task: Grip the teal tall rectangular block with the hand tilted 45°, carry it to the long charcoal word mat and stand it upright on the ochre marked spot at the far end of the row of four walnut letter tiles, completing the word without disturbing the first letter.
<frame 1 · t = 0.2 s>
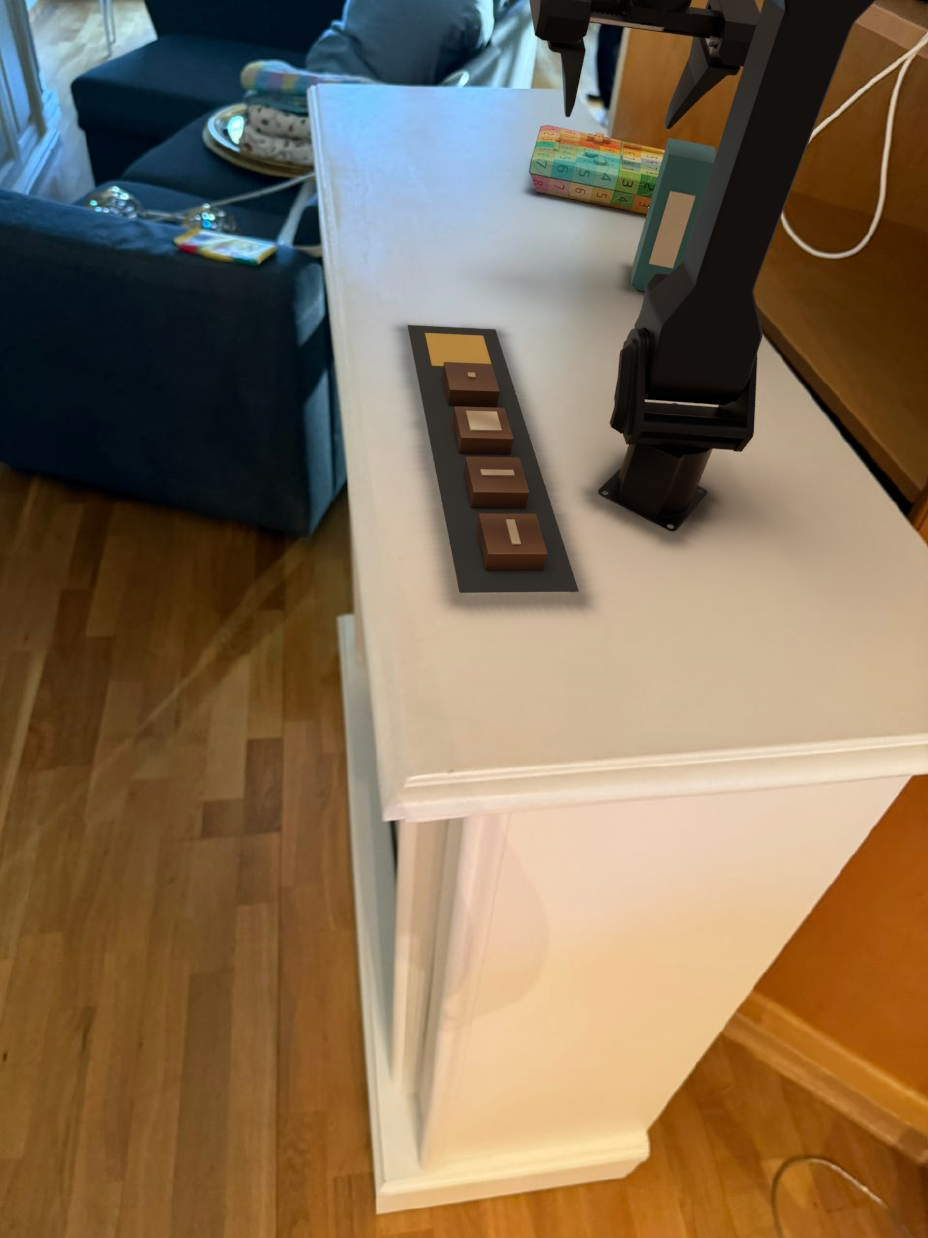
hand: (617, 120, 79), 15 cm above the table, tool pointing down, fingers open, 9 cm apart
tile b: (493, 490, 65), point 1 cm above the table, touching word mat
word mat: (479, 444, 70), on the table
teal tall rectangular block: (652, 283, 93), on the table
tile a: (509, 549, 61), point 1 cm above the table, touching word mat
tile c: (480, 438, 69), point 1 cm above the table, touching word mat
puzzle game: (611, 193, 108), on the table
tile d: (468, 392, 73), point 1 cm above the table, touching word mat
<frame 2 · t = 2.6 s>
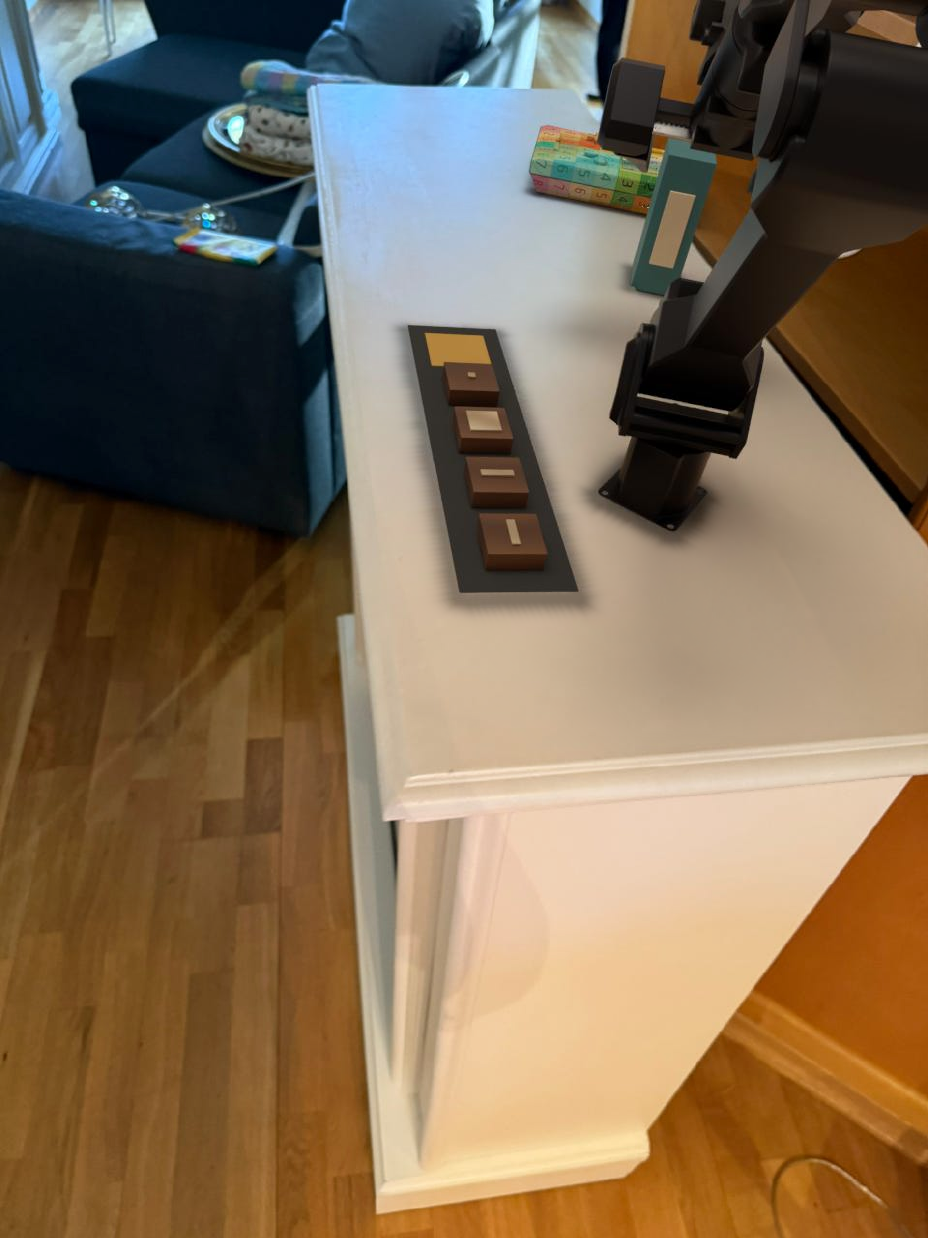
hand: (697, 177, 77), 13 cm above the table, tool tilted 45°, fingers open, 9 cm apart
nothing on the table moved.
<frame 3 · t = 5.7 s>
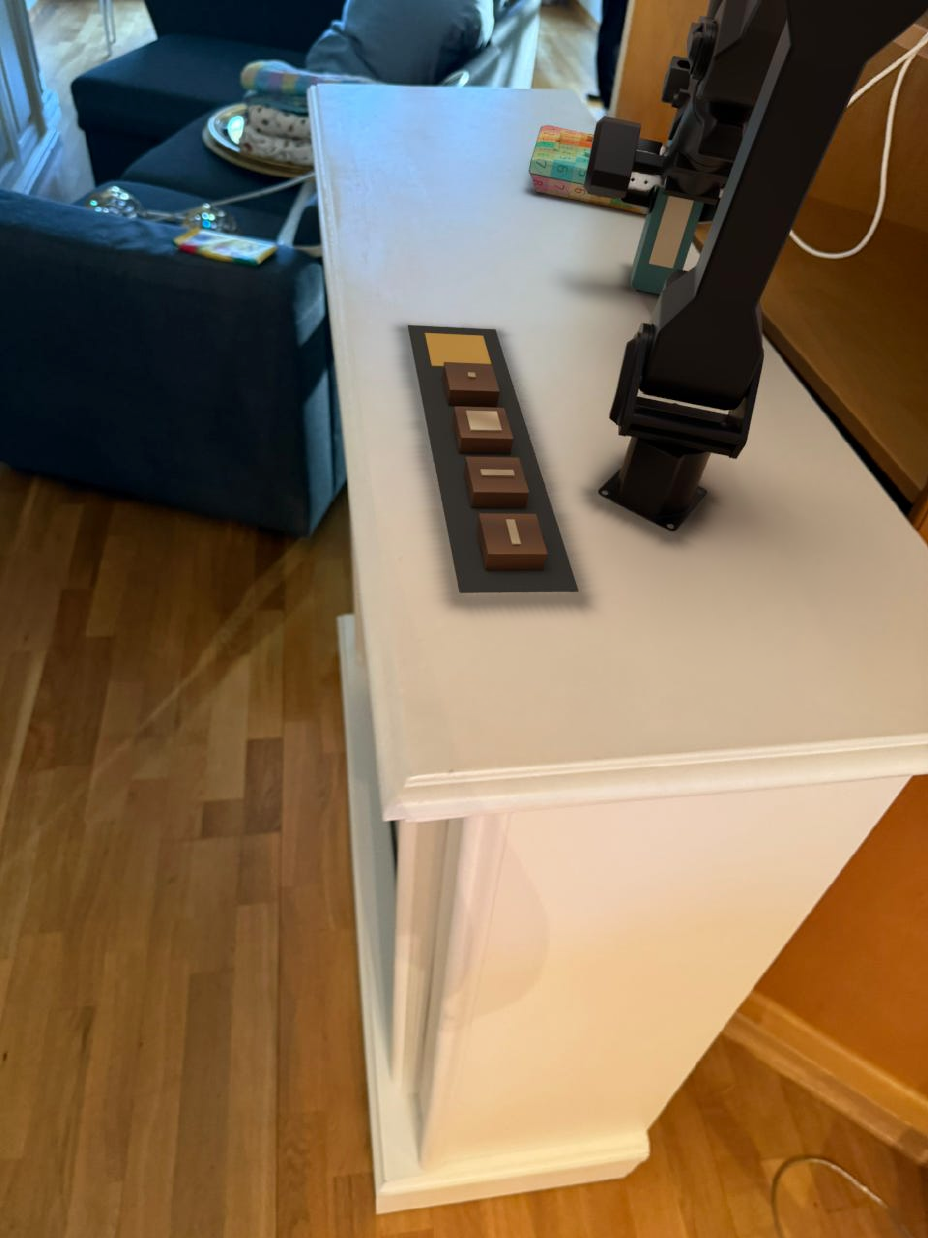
hand: (671, 213, 89), 7 cm above the table, tool tilted 45°, fingers closed on teal tall rectangular block, 4 cm apart
teal tall rectangular block: (652, 283, 93), on the table, touching gripper
everything else where it was.
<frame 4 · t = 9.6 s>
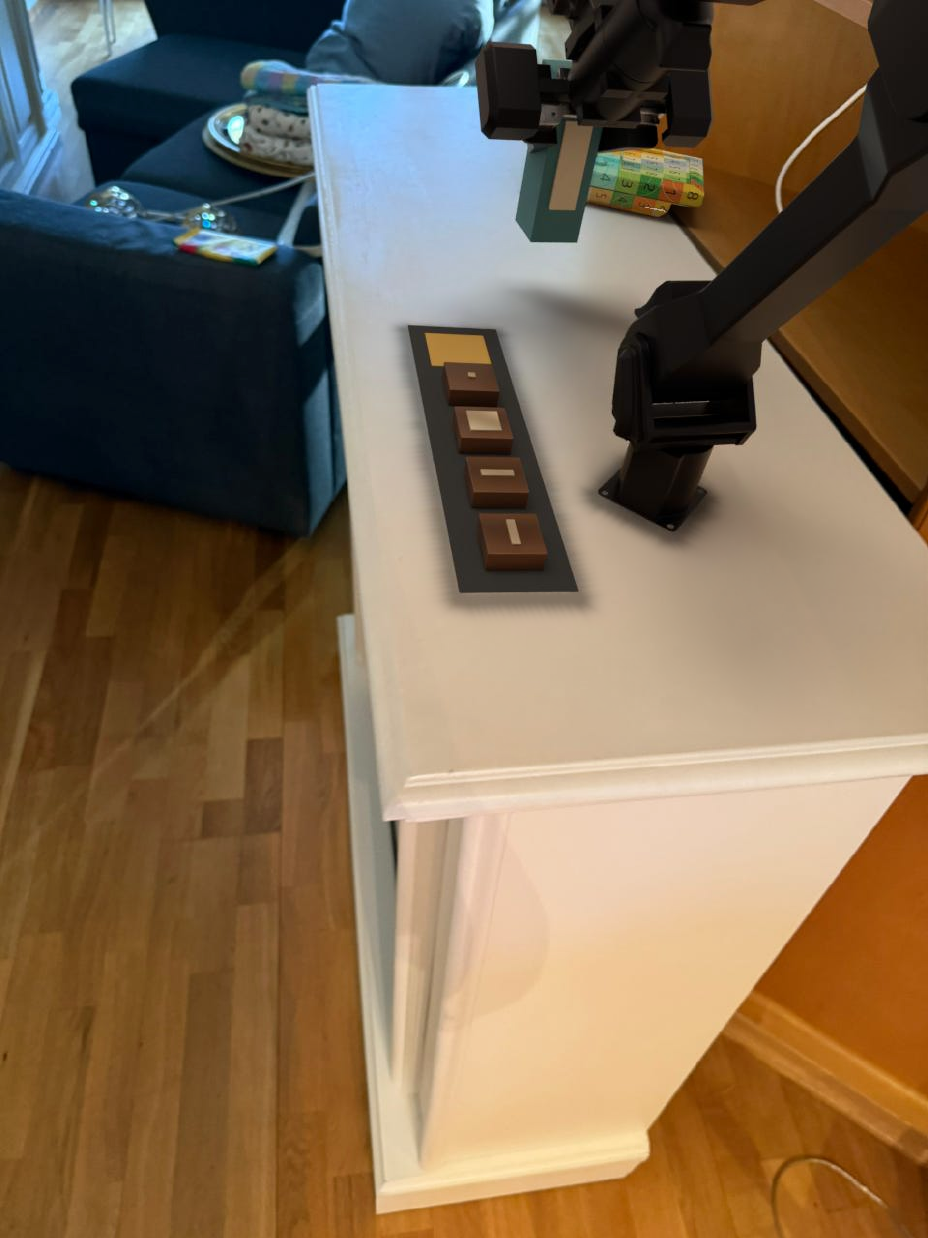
hand: (555, 148, 77), 14 cm above the table, tool tilted 45°, fingers closed on teal tall rectangular block, 4 cm apart
teal tall rectangular block: (545, 231, 81), point 7 cm above the table, touching gripper
everything else where it was.
when the fingers open (7 cm above the table, at t = 13.5 s): teal tall rectangular block stays where it is, resting on word mat.
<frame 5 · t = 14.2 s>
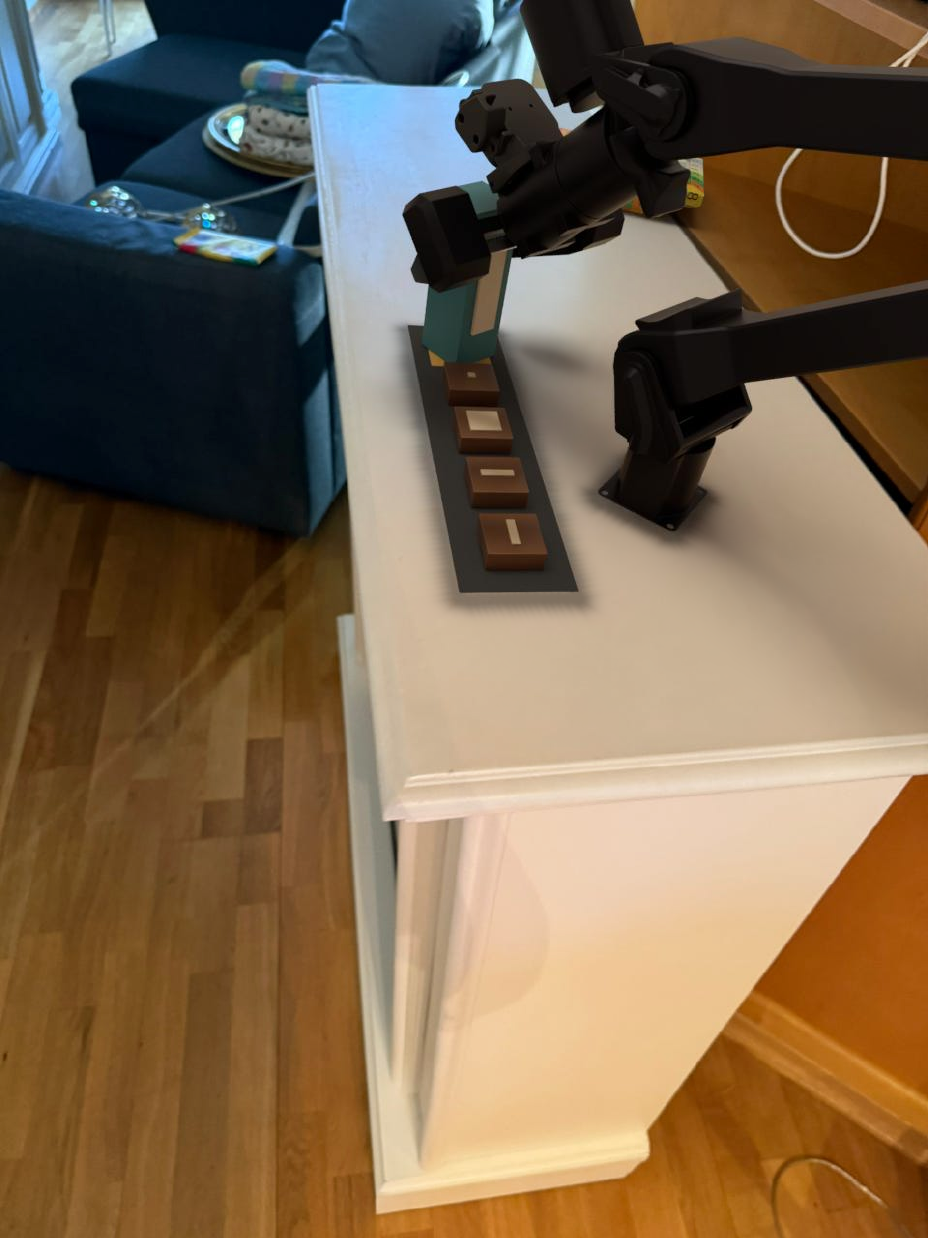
hand: (457, 263, 73), 8 cm above the table, tool tilted 45°, fingers open, 9 cm apart
teal tall rectangular block: (458, 350, 77), point 1 cm above the table, touching word mat
everything else where it was.
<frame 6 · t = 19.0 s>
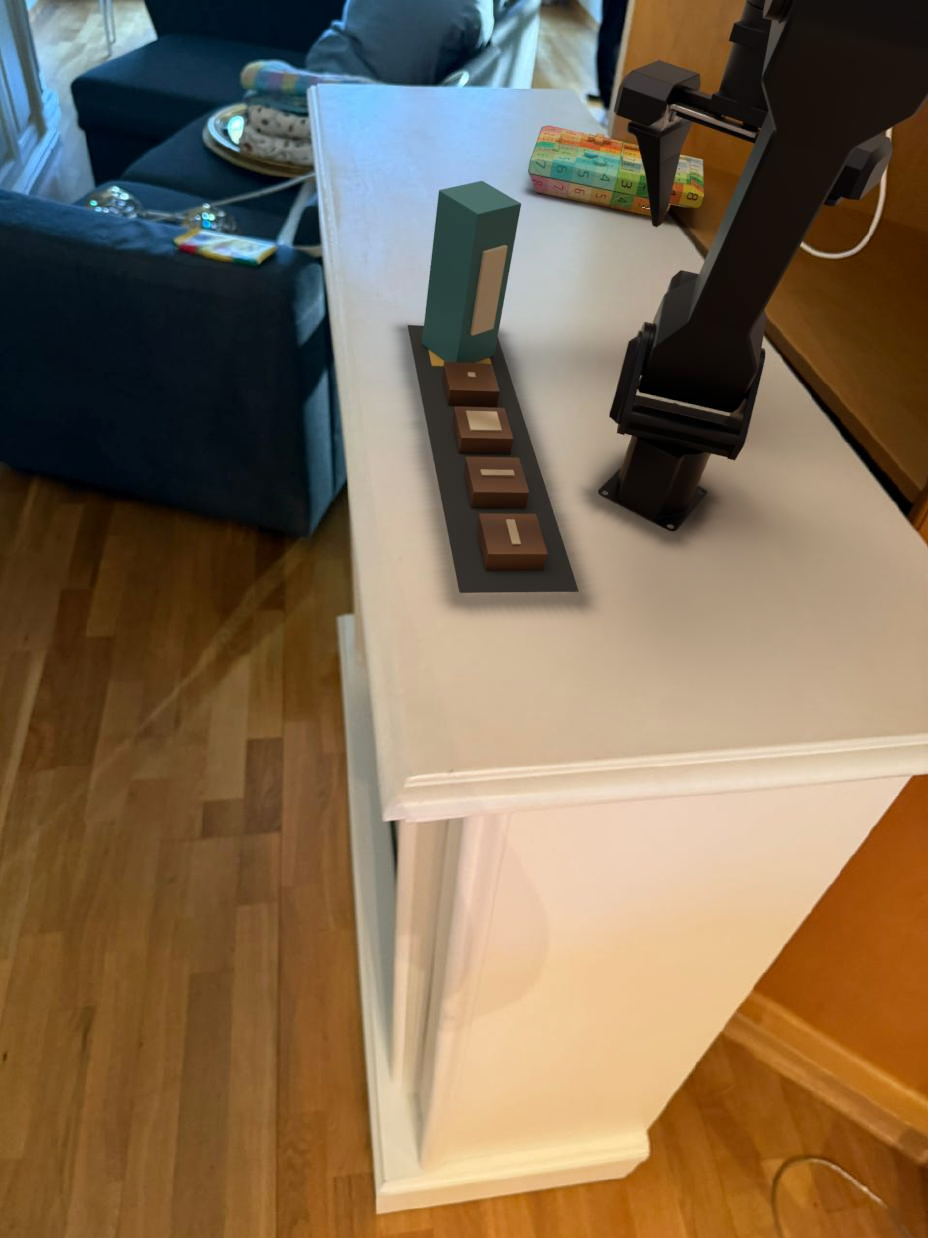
hand: (709, 246, 69), 13 cm above the table, tool pointing down, fingers open, 9 cm apart
nothing on the table moved.
at the end: teal tall rectangular block 0.0 cm from the target spot on the word mat, point 0.7 cm above the word mat's base; teal tall rectangular block tilted 0°; tile a moved 0.0 cm from its start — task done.
